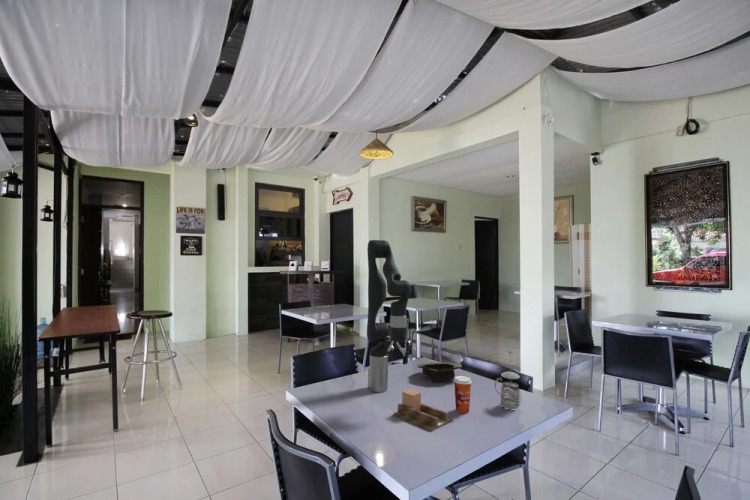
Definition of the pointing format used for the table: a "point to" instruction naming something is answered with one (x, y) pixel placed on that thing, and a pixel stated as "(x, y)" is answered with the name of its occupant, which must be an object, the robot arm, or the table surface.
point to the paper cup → (462, 393)
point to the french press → (514, 400)
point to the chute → (423, 416)
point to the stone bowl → (439, 371)
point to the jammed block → (412, 399)
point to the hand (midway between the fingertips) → (397, 362)
